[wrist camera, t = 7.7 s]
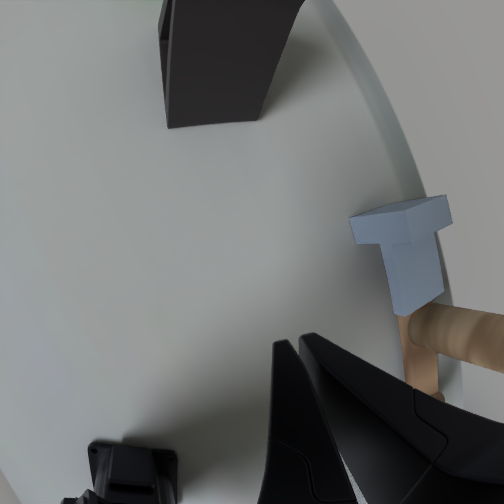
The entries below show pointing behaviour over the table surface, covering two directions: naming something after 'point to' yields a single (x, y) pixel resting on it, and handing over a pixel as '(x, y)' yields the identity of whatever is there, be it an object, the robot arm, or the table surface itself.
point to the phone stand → (220, 57)
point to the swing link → (448, 342)
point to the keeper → (407, 247)
